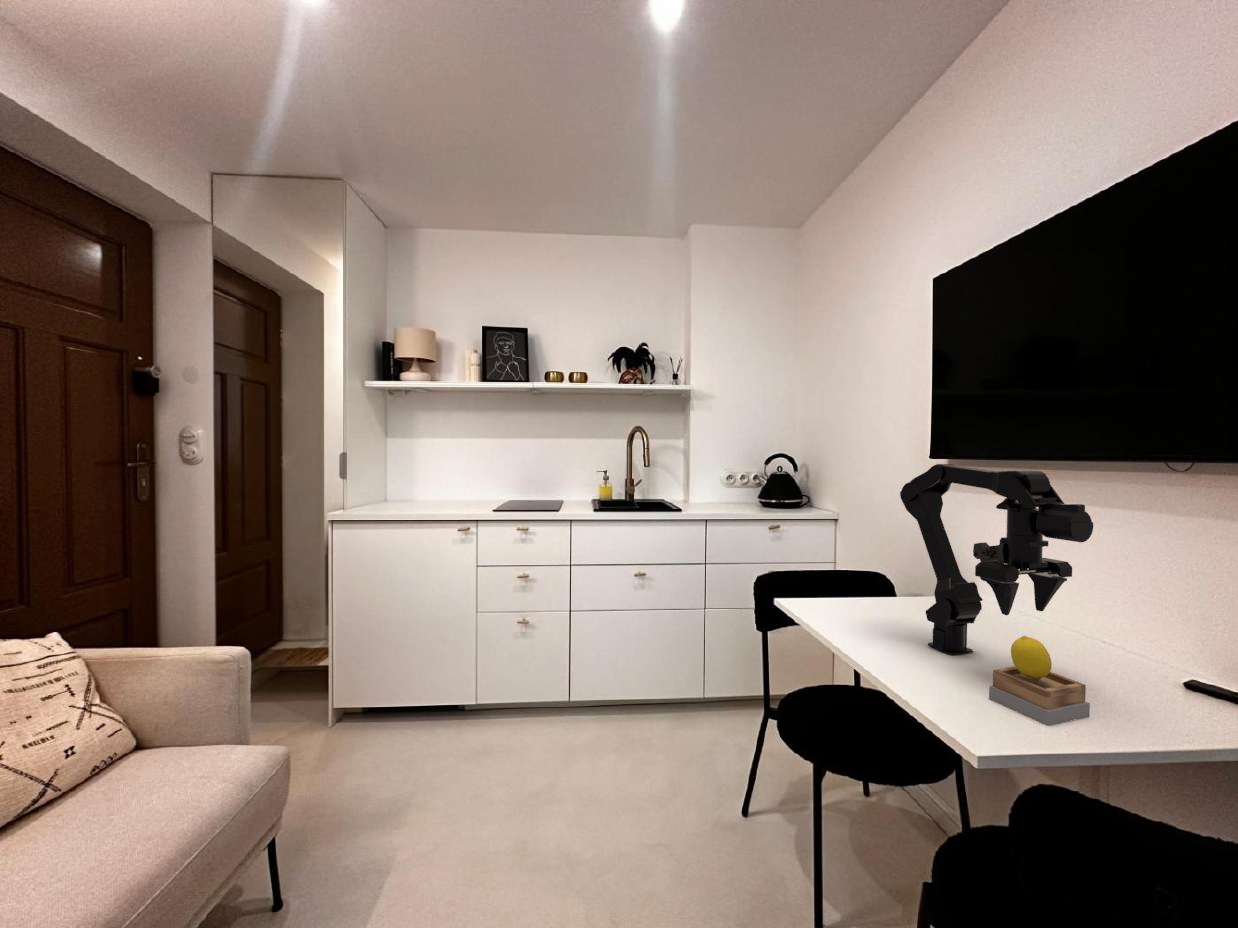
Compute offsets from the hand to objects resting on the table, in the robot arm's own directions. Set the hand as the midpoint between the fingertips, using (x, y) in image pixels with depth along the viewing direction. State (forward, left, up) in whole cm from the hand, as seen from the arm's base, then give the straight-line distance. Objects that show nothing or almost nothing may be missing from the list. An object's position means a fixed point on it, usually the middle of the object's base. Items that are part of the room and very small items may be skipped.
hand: (1022, 612), depth 106 cm
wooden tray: (+10, +10, -11) cm, 17 cm away
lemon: (+10, +10, -8) cm, 16 cm away
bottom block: (+10, +10, -14) cm, 20 cm away
